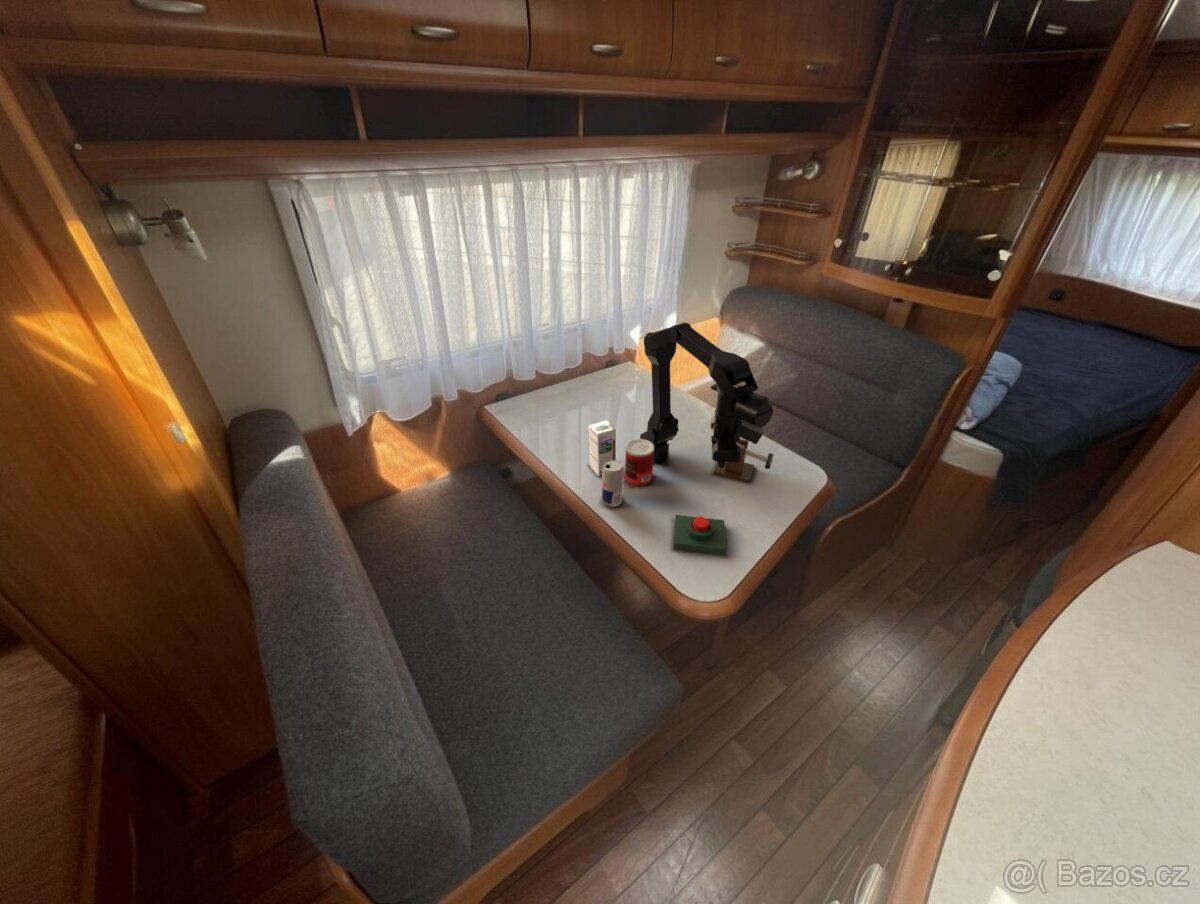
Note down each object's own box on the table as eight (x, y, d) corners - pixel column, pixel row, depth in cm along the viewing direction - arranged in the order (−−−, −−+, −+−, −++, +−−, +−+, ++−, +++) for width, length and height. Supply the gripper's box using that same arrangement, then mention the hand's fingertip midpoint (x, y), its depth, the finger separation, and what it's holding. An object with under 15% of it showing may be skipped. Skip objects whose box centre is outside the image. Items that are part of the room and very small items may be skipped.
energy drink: (601, 495, 131) (601, 459, 124) (620, 494, 131) (621, 458, 124) (603, 508, 126) (603, 472, 119) (623, 507, 127) (624, 471, 120)
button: (692, 531, 114) (693, 525, 113) (692, 521, 117) (693, 515, 116) (708, 533, 114) (709, 527, 113) (707, 522, 117) (708, 517, 116)
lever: (771, 459, 136) (775, 453, 134) (768, 471, 131) (771, 464, 130) (734, 444, 138) (736, 438, 137) (729, 455, 134) (732, 449, 132)
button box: (673, 549, 114) (674, 537, 112) (674, 521, 122) (676, 509, 120) (724, 555, 113) (726, 543, 110) (722, 526, 121) (725, 514, 118)
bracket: (753, 468, 141) (759, 440, 135) (748, 483, 135) (754, 455, 129) (719, 459, 144) (724, 432, 139) (713, 474, 138) (718, 446, 133)
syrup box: (598, 476, 137) (598, 434, 129) (589, 465, 142) (588, 424, 133) (615, 471, 140) (616, 429, 131) (606, 460, 144) (606, 419, 136)
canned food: (654, 473, 139) (657, 441, 133) (648, 489, 133) (650, 457, 126) (629, 467, 141) (630, 436, 135) (621, 484, 135) (622, 452, 128)
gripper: (768, 432, 103) (758, 490, 111) (759, 396, 119) (750, 450, 127) (716, 429, 105) (709, 487, 113) (713, 394, 121) (707, 447, 129)
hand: (721, 466), depth 121 cm, fingers closed
